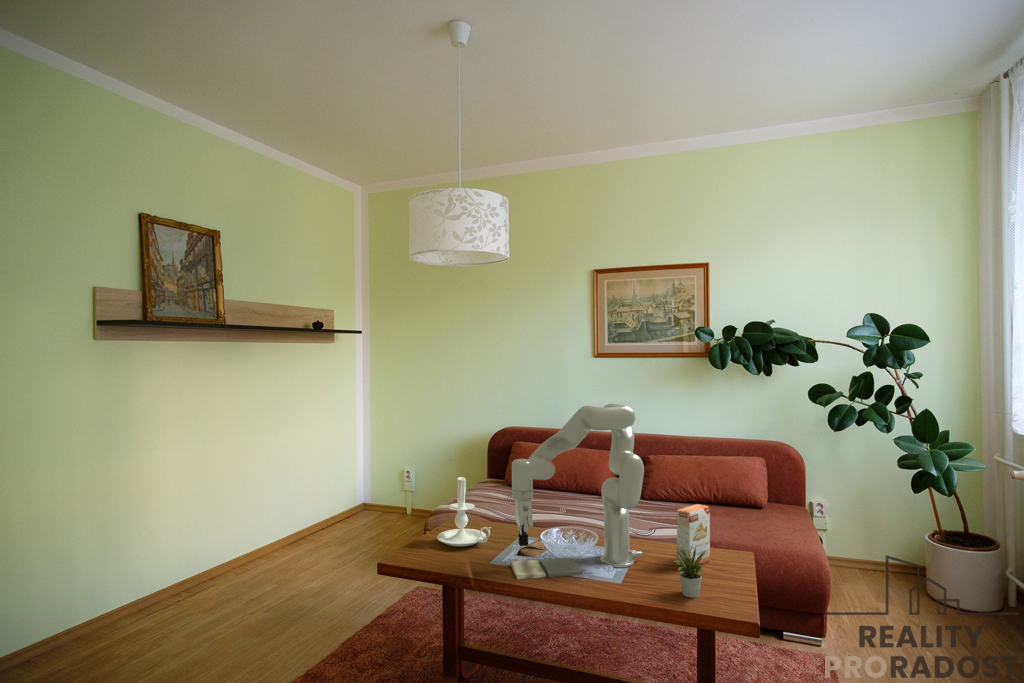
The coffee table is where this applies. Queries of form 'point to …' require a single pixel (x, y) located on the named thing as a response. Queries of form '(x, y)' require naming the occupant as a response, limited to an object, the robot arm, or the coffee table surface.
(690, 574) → the house plant
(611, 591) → the coffee table surface
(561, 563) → the floor board
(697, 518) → the cracker box
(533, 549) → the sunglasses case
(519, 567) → the ash plank
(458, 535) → the candlestick
